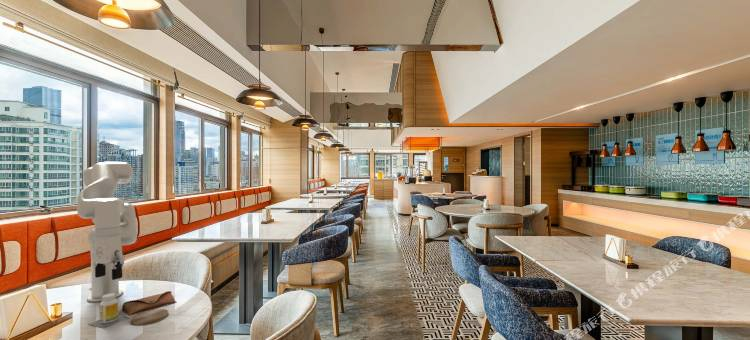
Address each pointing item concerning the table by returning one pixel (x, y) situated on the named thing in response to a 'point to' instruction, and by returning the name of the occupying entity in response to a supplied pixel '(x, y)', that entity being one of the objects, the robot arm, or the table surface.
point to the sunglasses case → (147, 303)
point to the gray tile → (103, 325)
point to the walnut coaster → (149, 317)
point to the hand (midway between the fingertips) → (108, 277)
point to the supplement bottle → (109, 308)
